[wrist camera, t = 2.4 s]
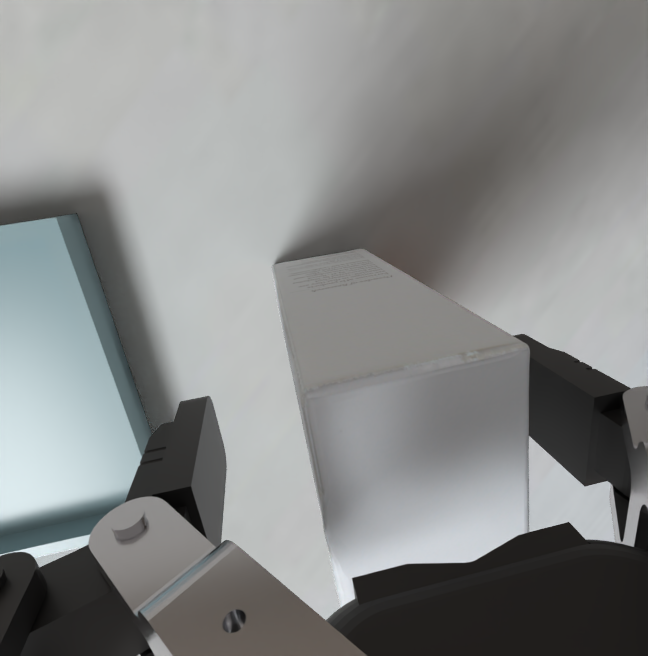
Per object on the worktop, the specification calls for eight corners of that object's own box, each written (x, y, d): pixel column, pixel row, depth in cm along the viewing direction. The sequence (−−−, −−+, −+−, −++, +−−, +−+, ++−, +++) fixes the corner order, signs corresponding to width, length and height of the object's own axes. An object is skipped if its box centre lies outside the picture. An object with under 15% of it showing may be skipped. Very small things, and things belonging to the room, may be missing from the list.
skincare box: (381, 367, 20) (534, 598, 9) (294, 385, 20) (342, 649, 9) (366, 241, 18) (542, 341, 7) (268, 259, 18) (289, 396, 7)
